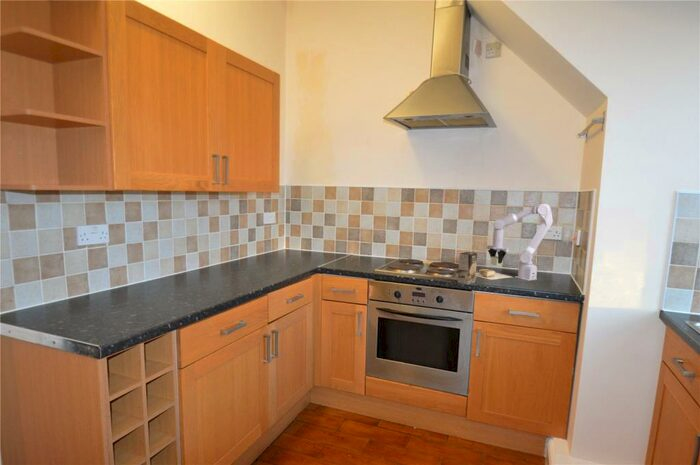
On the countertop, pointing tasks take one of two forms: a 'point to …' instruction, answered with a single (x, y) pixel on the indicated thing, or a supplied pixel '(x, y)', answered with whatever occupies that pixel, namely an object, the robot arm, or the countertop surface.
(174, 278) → the countertop surface
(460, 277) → the coffee box
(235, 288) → the countertop surface
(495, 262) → the green cube
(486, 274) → the beech base block
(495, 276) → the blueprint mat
